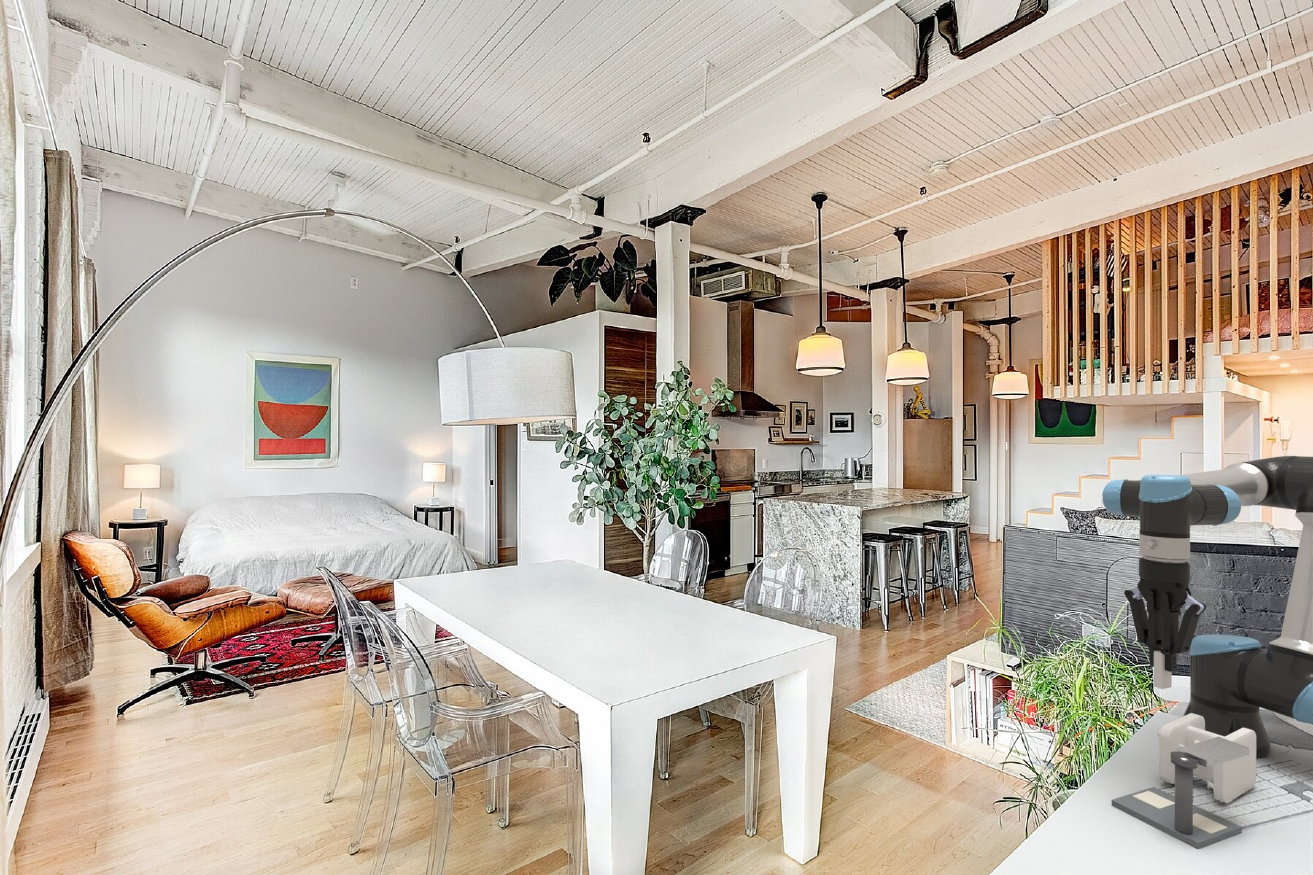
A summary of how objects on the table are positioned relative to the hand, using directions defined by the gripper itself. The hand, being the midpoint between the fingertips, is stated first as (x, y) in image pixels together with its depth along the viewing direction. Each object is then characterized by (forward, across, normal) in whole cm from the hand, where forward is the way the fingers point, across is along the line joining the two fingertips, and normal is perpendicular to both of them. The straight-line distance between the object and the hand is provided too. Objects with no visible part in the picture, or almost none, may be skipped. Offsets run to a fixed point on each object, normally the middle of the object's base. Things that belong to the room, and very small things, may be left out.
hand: (1162, 686), depth 124 cm
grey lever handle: (+9, +8, -3) cm, 12 cm away
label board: (+21, +4, -4) cm, 22 cm away
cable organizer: (+21, 0, +14) cm, 25 cm away
